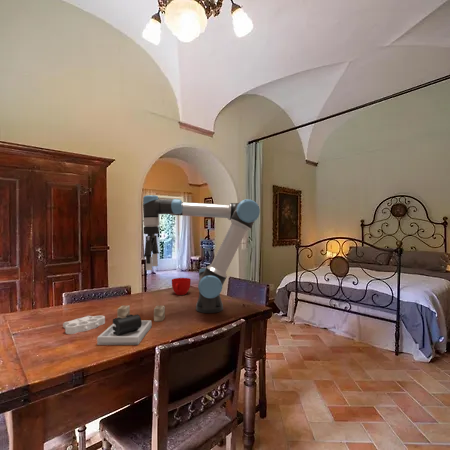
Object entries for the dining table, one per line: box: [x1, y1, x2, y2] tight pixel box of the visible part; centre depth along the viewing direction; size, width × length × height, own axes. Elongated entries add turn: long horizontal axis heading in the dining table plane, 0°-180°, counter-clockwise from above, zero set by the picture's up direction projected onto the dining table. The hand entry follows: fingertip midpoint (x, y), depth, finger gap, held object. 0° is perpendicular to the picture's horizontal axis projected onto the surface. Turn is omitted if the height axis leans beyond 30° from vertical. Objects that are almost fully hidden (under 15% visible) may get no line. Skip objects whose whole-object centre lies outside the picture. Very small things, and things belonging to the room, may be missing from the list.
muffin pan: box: [62, 315, 106, 335], centre depth 131 cm, size 3×18×15 cm
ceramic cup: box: [171, 277, 192, 296], centre depth 193 cm, size 13×17×10 cm
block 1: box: [116, 305, 131, 318], centre depth 142 cm, size 4×6×6 cm, turn 0°
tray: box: [96, 319, 153, 346], centre depth 121 cm, size 16×20×3 cm
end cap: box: [112, 314, 142, 336], centre depth 121 cm, size 10×7×7 cm
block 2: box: [153, 305, 166, 322], centre depth 142 cm, size 4×6×6 cm, turn 0°
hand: (152, 268), depth 143 cm, fingers open, 13 cm apart
